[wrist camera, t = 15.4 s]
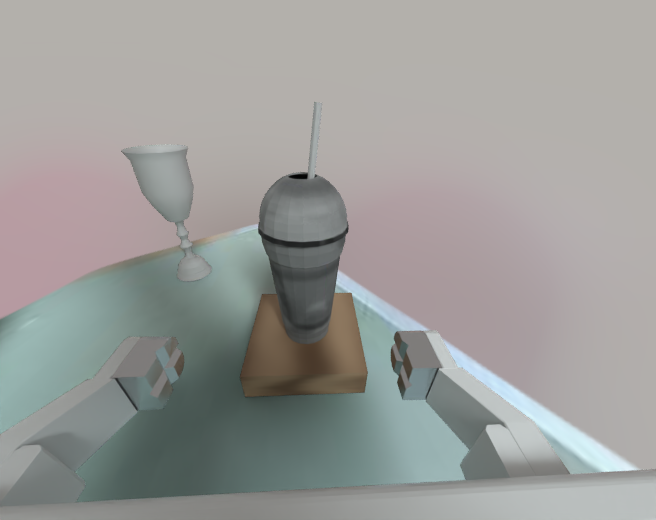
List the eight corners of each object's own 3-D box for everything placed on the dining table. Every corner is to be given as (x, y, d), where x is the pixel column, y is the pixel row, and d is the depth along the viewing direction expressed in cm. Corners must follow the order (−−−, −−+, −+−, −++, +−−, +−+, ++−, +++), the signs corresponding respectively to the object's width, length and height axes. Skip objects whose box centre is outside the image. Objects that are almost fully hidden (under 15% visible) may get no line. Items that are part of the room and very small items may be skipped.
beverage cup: (287, 298, 30) (271, 101, 20) (347, 309, 29) (364, 103, 18) (259, 347, 24) (213, 99, 14) (333, 363, 23) (346, 101, 12)
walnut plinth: (245, 396, 23) (239, 376, 21) (264, 312, 32) (262, 294, 31) (364, 392, 24) (367, 372, 22) (349, 310, 33) (351, 292, 31)
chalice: (208, 285, 37) (170, 154, 27) (160, 286, 36) (105, 153, 27) (223, 259, 43) (197, 145, 34) (183, 260, 43) (144, 144, 33)
